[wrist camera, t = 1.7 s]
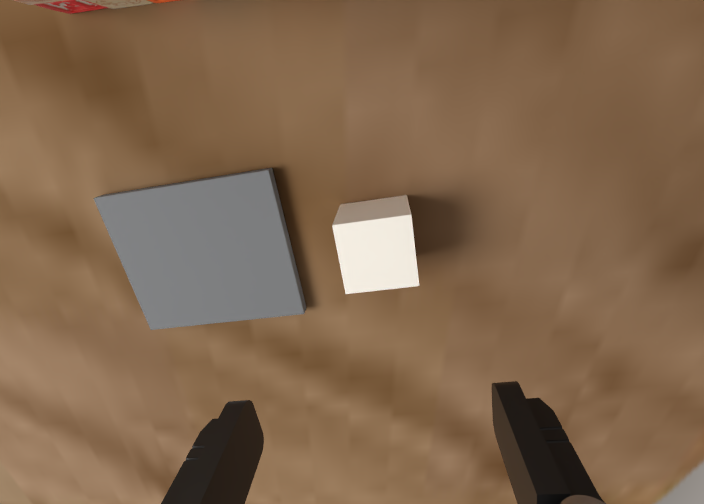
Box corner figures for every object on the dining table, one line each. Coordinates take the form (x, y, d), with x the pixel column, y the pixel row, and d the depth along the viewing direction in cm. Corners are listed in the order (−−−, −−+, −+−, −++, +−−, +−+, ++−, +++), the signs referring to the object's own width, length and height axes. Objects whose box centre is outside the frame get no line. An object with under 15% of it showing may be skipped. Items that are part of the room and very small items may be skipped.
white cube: (406, 194, 28) (411, 214, 23) (413, 256, 29) (419, 285, 25) (340, 204, 28) (332, 225, 24) (351, 263, 30) (345, 294, 26)
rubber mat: (272, 167, 28) (268, 170, 27) (306, 307, 32) (304, 313, 31) (102, 194, 29) (93, 198, 28) (157, 323, 34) (151, 329, 33)
